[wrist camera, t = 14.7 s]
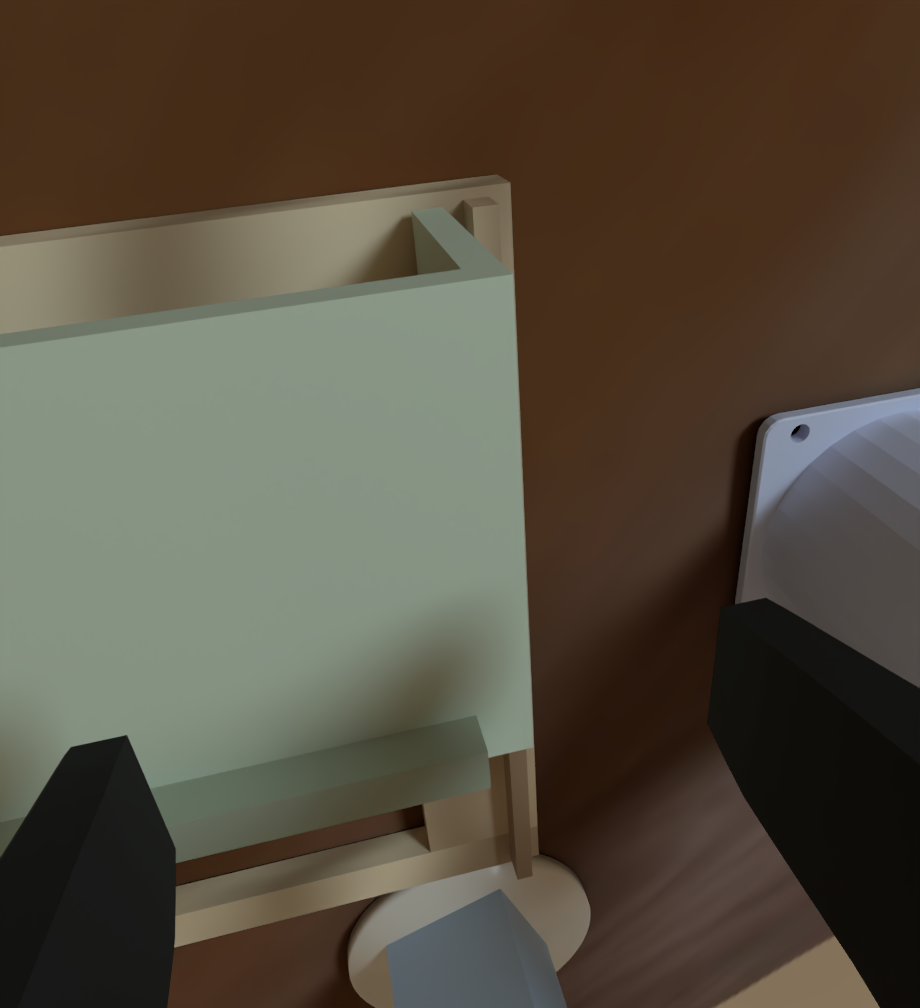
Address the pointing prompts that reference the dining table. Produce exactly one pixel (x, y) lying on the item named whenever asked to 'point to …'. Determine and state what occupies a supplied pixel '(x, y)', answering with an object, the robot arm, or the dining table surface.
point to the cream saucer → (540, 899)
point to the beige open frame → (260, 273)
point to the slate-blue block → (475, 961)
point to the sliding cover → (270, 549)
